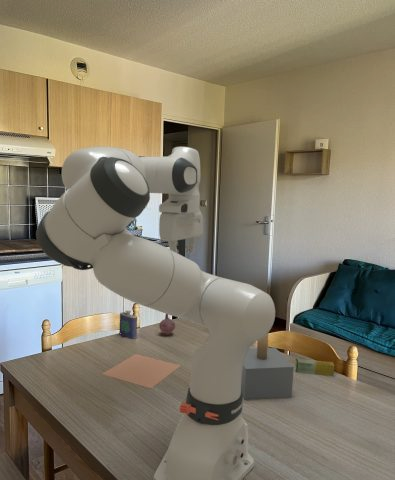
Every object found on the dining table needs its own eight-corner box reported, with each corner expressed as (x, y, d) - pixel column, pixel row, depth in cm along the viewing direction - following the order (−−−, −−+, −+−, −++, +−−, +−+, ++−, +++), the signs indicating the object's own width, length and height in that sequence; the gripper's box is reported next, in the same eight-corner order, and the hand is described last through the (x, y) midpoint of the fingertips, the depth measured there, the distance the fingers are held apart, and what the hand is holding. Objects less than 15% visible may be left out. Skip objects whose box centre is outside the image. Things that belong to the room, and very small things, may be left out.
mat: (151, 389, 113) (151, 388, 113) (101, 375, 121) (101, 373, 121) (180, 366, 129) (181, 365, 129) (135, 355, 137) (135, 354, 137)
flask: (138, 339, 153) (138, 312, 151) (132, 341, 150) (132, 313, 149) (122, 333, 158) (123, 307, 157) (117, 335, 156) (117, 308, 155)
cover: (244, 399, 109) (247, 340, 108) (231, 376, 123) (233, 324, 121) (291, 397, 112) (295, 339, 110) (273, 375, 126) (277, 323, 124)
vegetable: (156, 335, 157) (156, 311, 156) (165, 331, 162) (166, 307, 161) (168, 338, 154) (168, 314, 153) (177, 334, 159) (178, 310, 158)
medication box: (295, 373, 128) (296, 361, 128) (294, 369, 131) (295, 357, 130) (333, 377, 126) (334, 365, 126) (332, 373, 129) (333, 361, 128)
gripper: (190, 205, 122) (189, 249, 124) (155, 205, 104) (154, 257, 105) (209, 206, 119) (207, 251, 121) (176, 206, 101) (174, 259, 103)
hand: (182, 254), depth 113 cm, fingers open, 8 cm apart
